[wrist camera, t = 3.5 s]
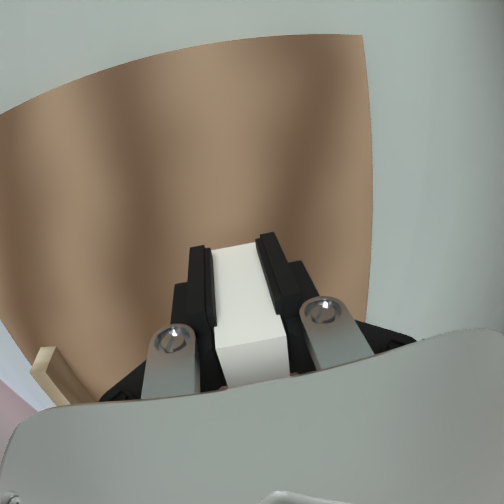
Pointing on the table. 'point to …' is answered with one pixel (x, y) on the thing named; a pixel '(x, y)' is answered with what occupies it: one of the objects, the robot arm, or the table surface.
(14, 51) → the table surface
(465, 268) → the table surface
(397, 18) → the table surface
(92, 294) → the lane shelf
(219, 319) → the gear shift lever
